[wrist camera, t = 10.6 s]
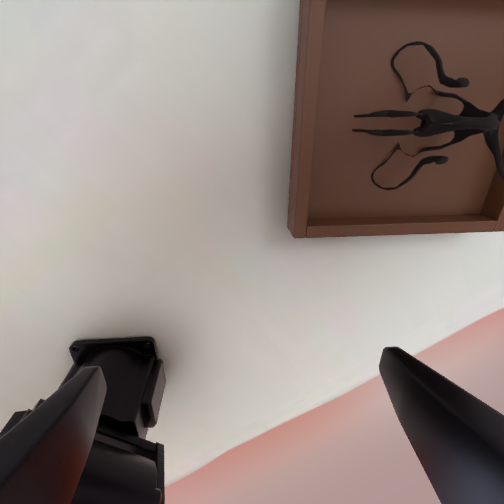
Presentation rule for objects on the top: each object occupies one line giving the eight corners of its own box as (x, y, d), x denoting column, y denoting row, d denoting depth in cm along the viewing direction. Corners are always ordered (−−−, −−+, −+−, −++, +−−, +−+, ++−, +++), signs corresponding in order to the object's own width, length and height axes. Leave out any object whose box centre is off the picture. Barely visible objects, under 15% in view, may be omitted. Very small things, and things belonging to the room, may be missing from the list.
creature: (339, 185, 20) (464, 188, 19) (354, 207, 15) (524, 212, 14) (357, 48, 16) (510, 42, 15) (383, 18, 11) (610, 7, 10)
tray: (287, 227, 20) (293, 238, 18) (301, -27, 14) (313, -50, 12) (479, 221, 21) (504, 231, 19) (565, -17, 15) (613, -36, 13)
